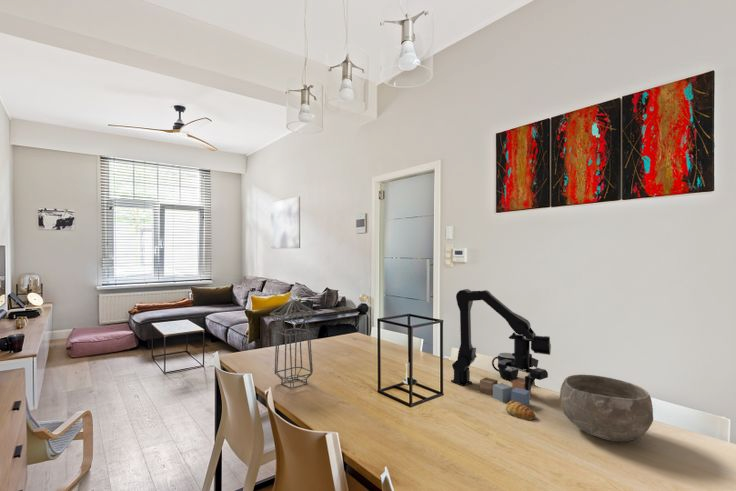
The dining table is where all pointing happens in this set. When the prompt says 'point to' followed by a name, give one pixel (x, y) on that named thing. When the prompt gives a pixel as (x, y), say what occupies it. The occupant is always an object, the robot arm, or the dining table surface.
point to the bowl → (607, 407)
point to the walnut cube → (487, 386)
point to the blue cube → (520, 396)
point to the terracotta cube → (519, 384)
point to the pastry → (519, 410)
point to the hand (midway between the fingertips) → (521, 390)
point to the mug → (501, 357)
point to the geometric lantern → (289, 305)
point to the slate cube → (502, 392)
